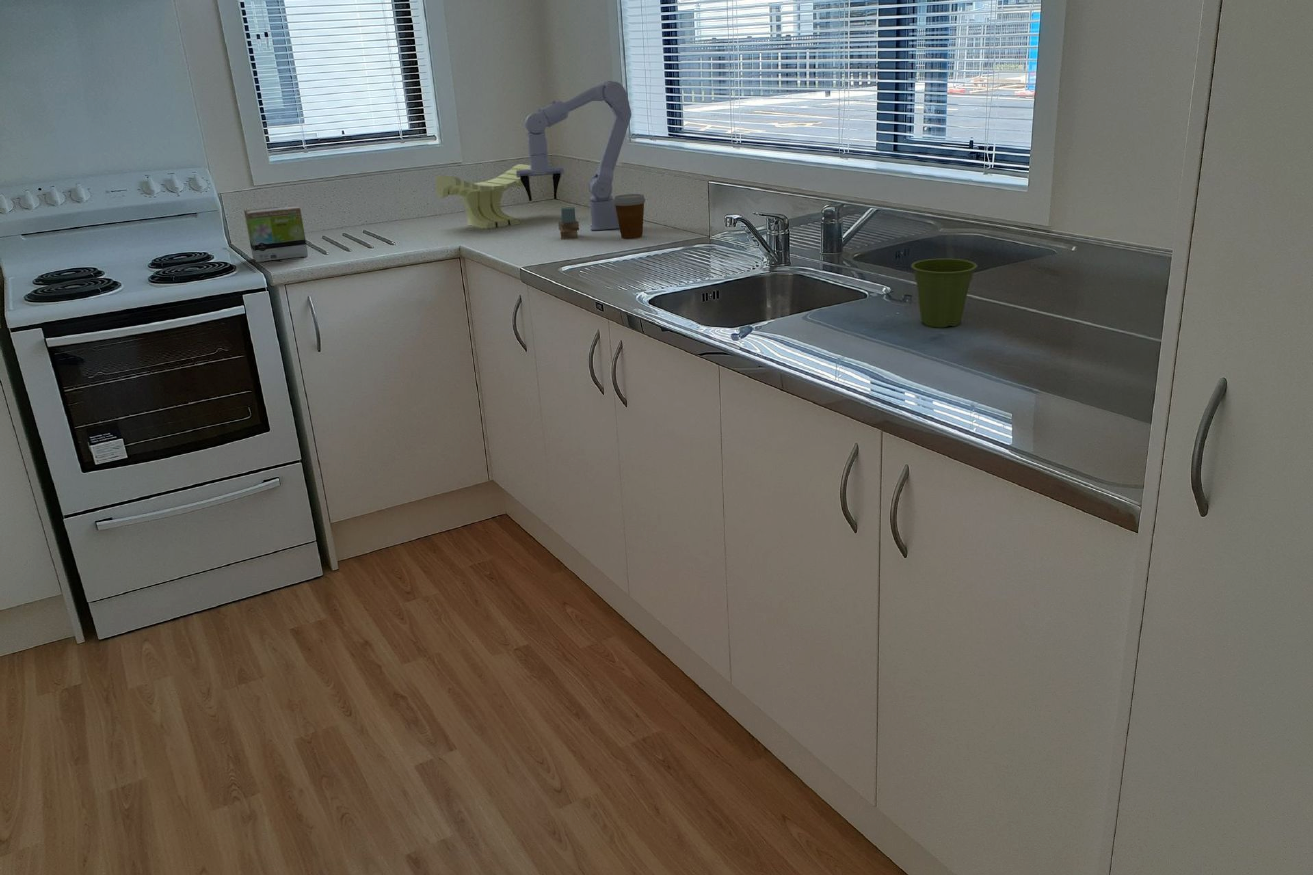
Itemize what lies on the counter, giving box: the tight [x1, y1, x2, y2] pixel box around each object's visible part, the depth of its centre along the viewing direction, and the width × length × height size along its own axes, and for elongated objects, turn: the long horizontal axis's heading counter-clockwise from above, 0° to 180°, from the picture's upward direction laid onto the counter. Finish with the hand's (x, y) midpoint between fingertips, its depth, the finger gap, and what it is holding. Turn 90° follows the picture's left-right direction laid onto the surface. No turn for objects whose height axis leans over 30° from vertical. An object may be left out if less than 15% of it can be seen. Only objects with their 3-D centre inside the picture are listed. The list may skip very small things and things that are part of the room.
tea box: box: [244, 204, 309, 263], centre depth 304 cm, size 15×10×15 cm
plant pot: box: [910, 258, 978, 329], centre depth 190 cm, size 12×12×11 cm
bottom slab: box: [559, 230, 578, 240], centre depth 308 cm, size 5×5×2 cm
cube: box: [560, 206, 577, 223], centre depth 306 cm, size 4×4×4 cm
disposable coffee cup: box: [613, 193, 646, 240], centre depth 300 cm, size 10×10×12 cm
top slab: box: [557, 220, 580, 232], centre depth 307 cm, size 5×5×2 cm
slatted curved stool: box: [435, 163, 539, 230], centre depth 340 cm, size 30×16×18 cm, turn 125°
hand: (543, 199), depth 314 cm, fingers open, 7 cm apart
